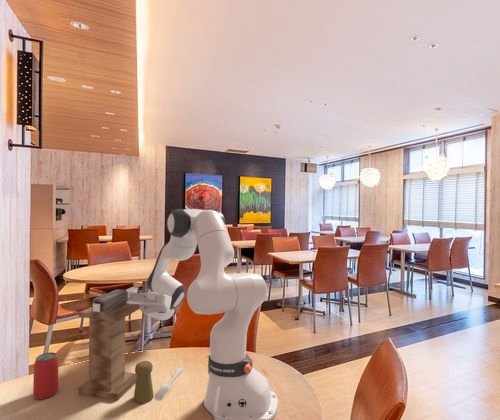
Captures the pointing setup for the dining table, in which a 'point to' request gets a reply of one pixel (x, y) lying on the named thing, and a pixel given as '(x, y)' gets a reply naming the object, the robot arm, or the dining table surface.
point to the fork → (165, 386)
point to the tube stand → (108, 347)
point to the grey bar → (131, 292)
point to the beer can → (45, 375)
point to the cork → (143, 383)
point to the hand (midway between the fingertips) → (134, 294)
